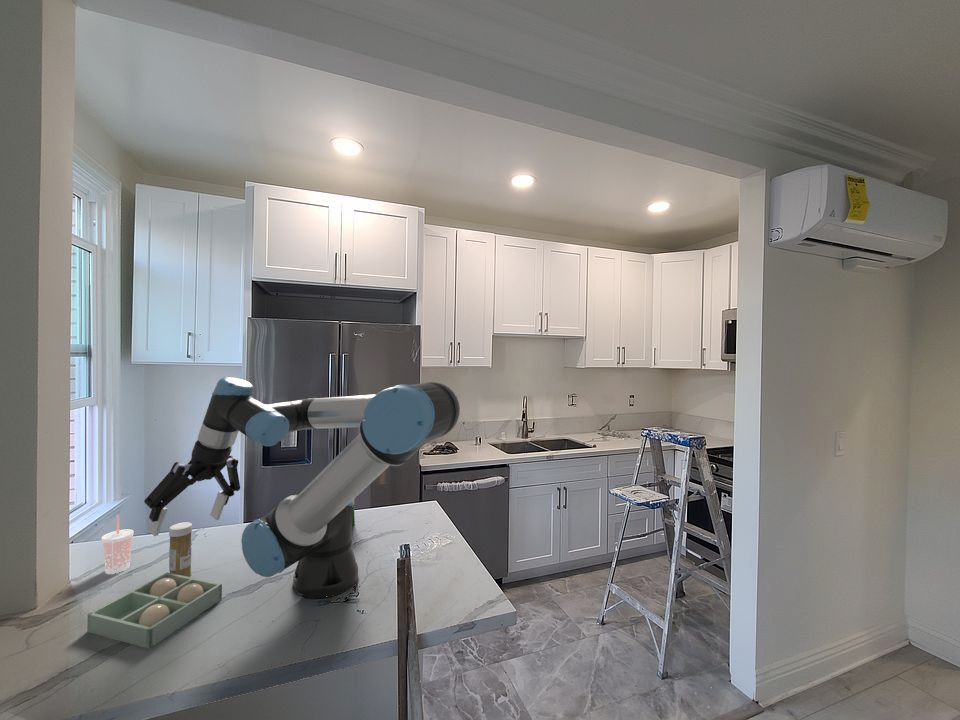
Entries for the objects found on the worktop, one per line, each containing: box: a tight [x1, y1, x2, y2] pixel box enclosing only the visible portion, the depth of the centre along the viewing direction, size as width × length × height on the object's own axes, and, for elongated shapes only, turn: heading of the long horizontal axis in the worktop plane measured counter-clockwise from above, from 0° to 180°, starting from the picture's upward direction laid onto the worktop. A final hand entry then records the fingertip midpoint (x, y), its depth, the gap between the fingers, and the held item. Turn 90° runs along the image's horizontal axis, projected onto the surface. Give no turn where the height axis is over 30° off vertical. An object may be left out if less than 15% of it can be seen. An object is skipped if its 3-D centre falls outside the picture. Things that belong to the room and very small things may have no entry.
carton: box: [86, 572, 223, 649], centre depth 86 cm, size 16×16×4 cm
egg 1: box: [149, 578, 177, 597], centre depth 90 cm, size 5×5×5 cm
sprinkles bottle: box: [168, 521, 193, 577], centre depth 99 cm, size 5×5×13 cm
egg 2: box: [139, 604, 170, 627], centre depth 81 cm, size 5×5×5 cm
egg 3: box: [177, 583, 204, 603], centre depth 88 cm, size 5×5×5 cm
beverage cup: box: [101, 514, 135, 575], centre depth 103 cm, size 6×6×14 cm
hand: (185, 524), depth 96 cm, fingers open, 13 cm apart
